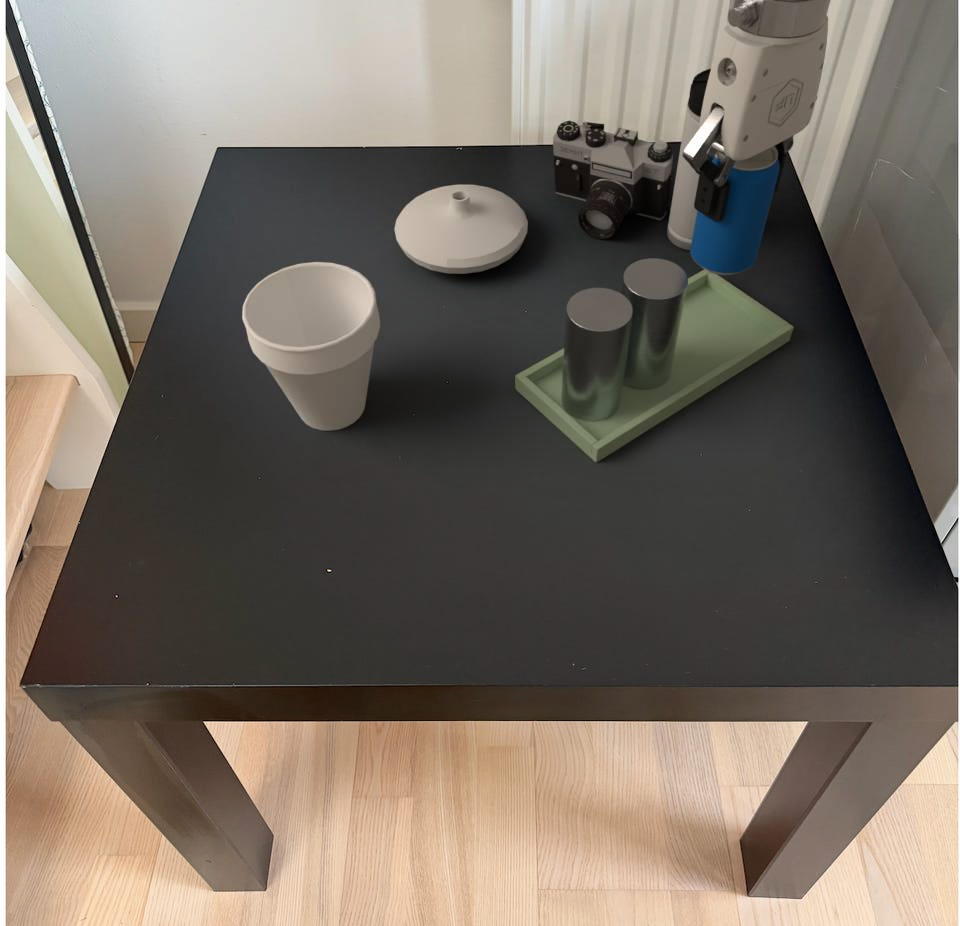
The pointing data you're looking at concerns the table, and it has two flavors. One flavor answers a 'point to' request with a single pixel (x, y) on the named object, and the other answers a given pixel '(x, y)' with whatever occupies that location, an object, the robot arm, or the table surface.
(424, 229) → the vase
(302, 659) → the table surface
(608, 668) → the table surface
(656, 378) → the can
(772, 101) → the robot arm
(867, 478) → the table surface
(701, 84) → the travel mug
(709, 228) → the beverage can
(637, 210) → the camera
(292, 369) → the white flower pot
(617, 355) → the can
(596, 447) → the tray
